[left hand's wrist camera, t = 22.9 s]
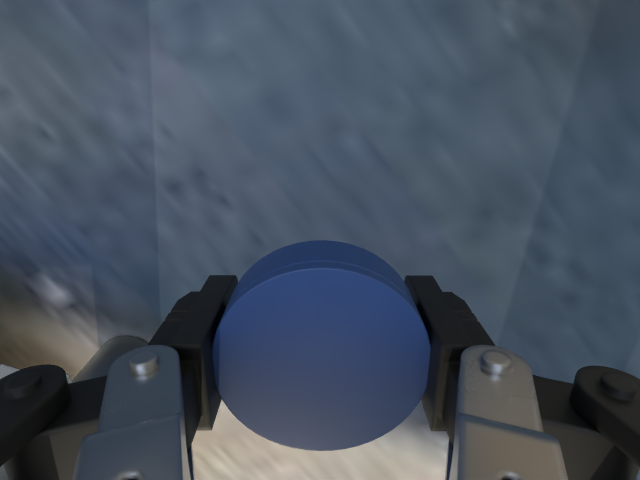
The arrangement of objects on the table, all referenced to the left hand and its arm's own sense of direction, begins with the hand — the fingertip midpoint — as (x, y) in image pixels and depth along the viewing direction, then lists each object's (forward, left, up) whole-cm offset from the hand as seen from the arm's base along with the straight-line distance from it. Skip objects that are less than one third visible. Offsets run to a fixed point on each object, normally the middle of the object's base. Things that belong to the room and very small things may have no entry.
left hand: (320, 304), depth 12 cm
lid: (0, 0, +3) cm, 3 cm away
